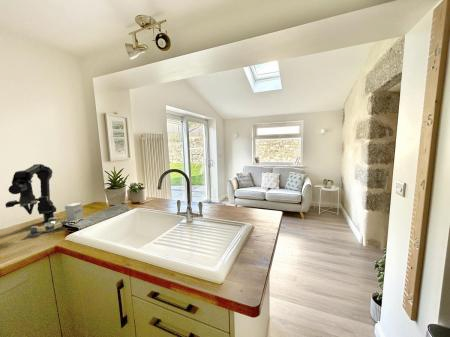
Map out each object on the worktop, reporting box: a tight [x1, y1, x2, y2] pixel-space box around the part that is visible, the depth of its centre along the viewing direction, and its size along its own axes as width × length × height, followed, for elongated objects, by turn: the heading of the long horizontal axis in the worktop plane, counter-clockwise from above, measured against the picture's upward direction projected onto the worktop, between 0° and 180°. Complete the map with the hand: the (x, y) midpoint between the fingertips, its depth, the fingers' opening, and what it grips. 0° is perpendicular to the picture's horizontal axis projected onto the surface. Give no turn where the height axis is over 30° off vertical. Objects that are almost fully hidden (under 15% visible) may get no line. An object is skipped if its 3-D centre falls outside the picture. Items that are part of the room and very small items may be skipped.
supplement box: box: [64, 202, 85, 222], centre depth 143 cm, size 7×7×13 cm
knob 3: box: [54, 219, 69, 229], centre depth 130 cm, size 8×4×3 cm, turn 162°
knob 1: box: [29, 225, 45, 233], centre depth 124 cm, size 8×4×3 cm, turn 92°
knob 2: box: [48, 216, 64, 222], centre depth 139 cm, size 8×4×3 cm, turn 127°
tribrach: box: [27, 221, 68, 238], centre depth 133 cm, size 19×22×5 cm
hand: (30, 214), depth 126 cm, fingers closed
